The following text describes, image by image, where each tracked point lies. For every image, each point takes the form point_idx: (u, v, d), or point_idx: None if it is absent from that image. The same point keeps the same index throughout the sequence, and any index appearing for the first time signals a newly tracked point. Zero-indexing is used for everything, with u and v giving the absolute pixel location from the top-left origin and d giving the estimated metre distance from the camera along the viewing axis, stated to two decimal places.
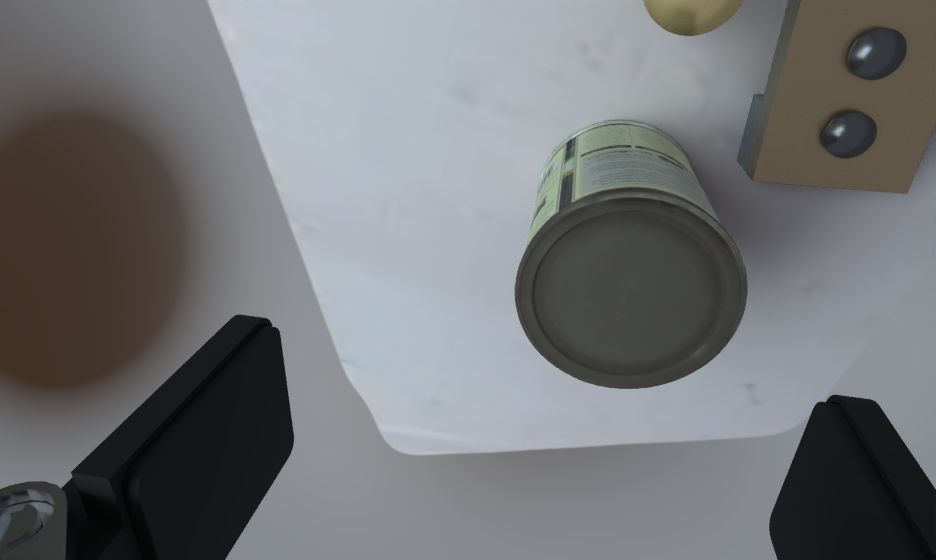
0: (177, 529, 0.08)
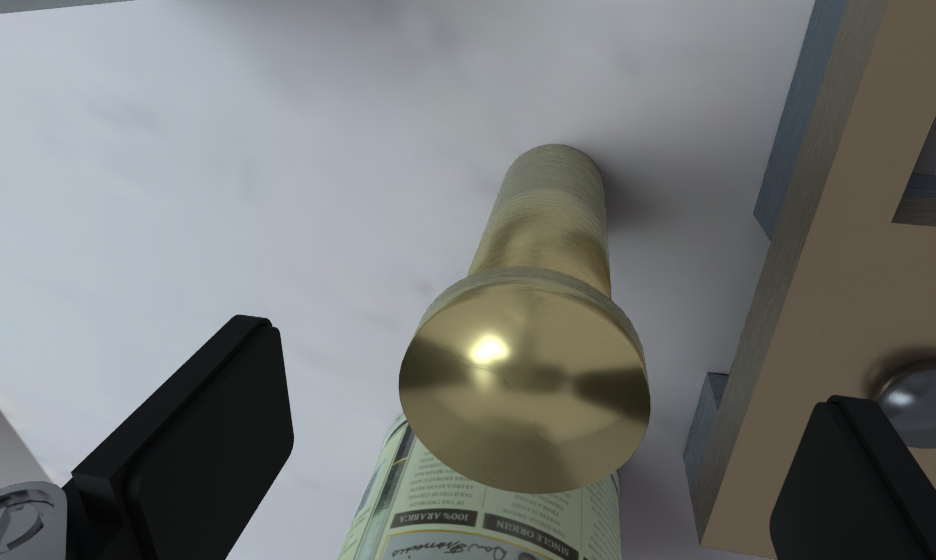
0: (177, 529, 0.08)
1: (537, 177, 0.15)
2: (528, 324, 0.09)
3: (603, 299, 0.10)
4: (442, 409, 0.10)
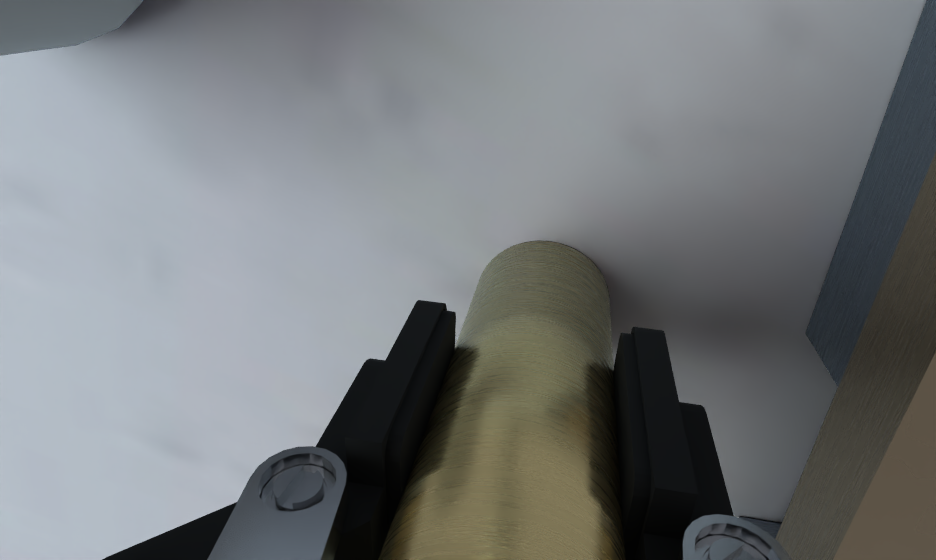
0: None
1: (517, 305, 0.11)
2: None
3: None
4: None
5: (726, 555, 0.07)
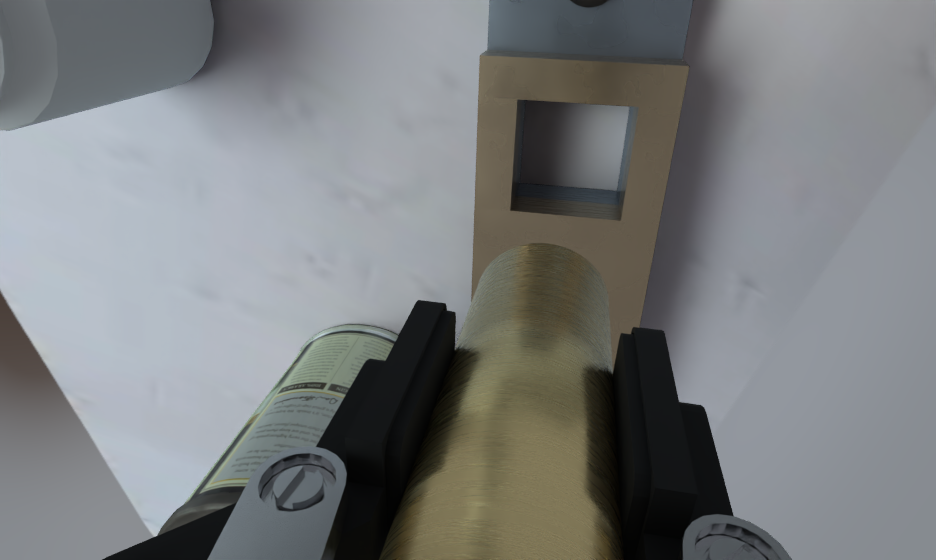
0: None
1: (517, 308, 0.11)
2: None
3: None
4: None
5: (726, 555, 0.07)
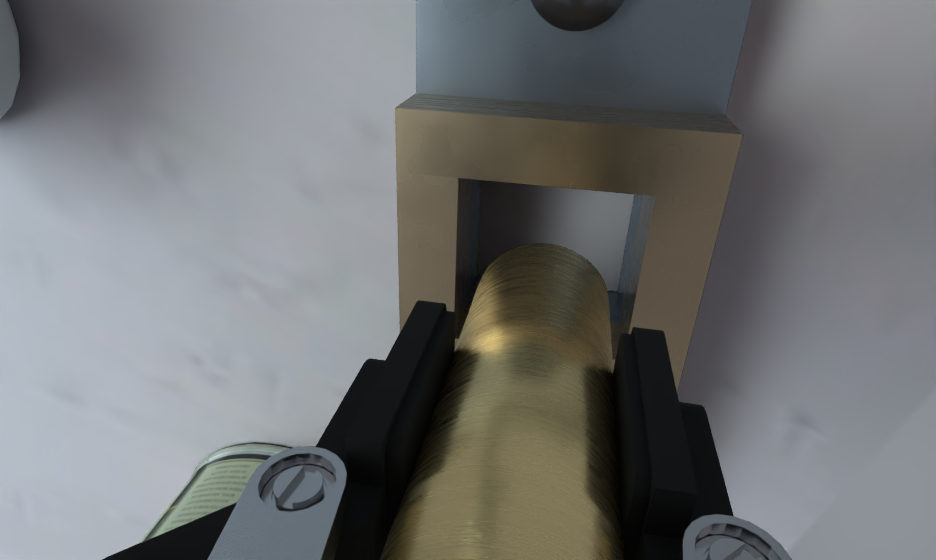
0: None
1: (517, 308, 0.11)
2: None
3: None
4: None
5: (726, 555, 0.07)
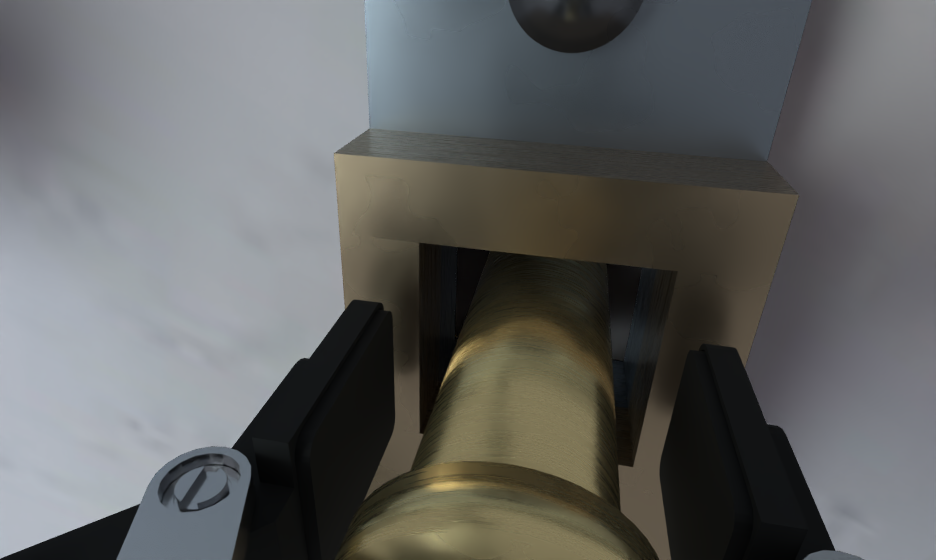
0: (328, 494, 0.09)
1: (524, 272, 0.12)
2: None
3: (608, 516, 0.07)
4: None
5: None
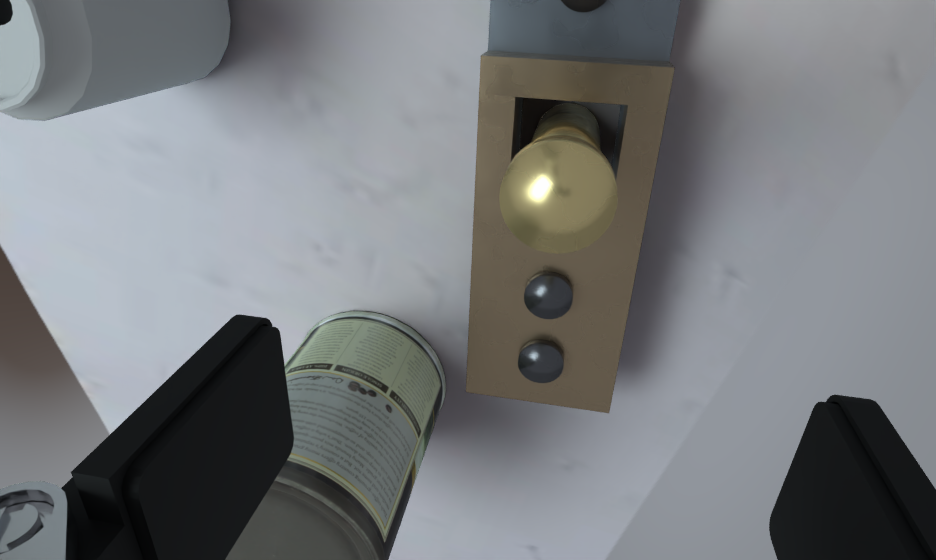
0: (177, 529, 0.08)
1: (560, 116, 0.27)
2: (562, 156, 0.20)
3: (596, 149, 0.21)
4: (519, 206, 0.21)
5: None
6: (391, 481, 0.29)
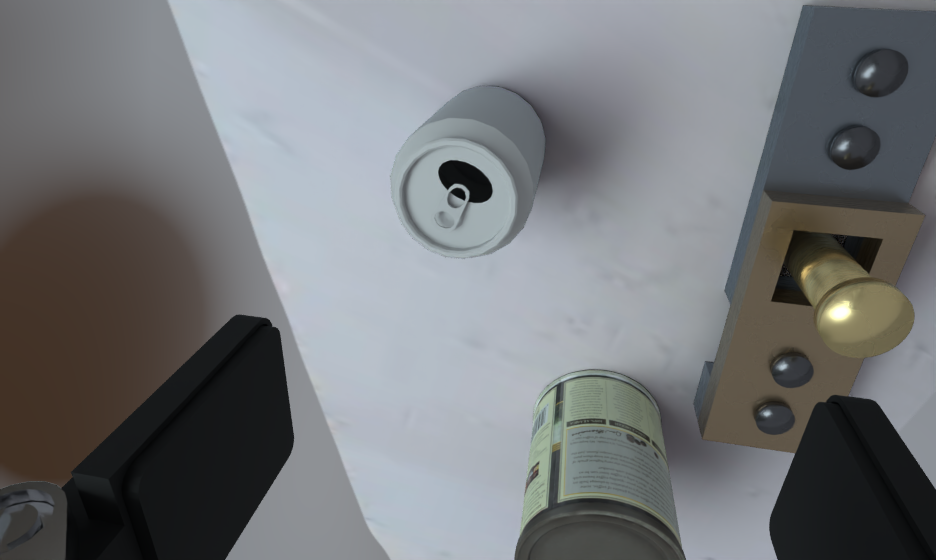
0: (177, 529, 0.08)
1: (820, 240, 0.35)
2: (878, 295, 0.29)
3: None
4: (835, 325, 0.30)
5: None
6: (675, 514, 0.37)
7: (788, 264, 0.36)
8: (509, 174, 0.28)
